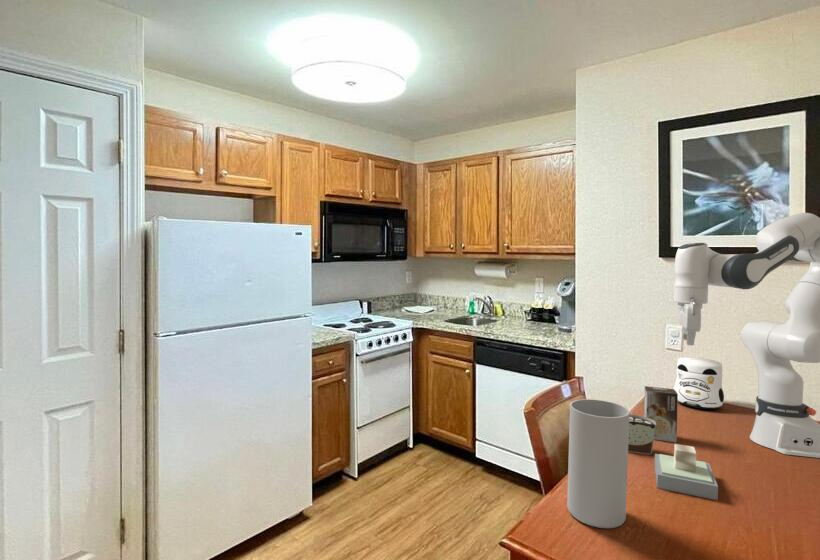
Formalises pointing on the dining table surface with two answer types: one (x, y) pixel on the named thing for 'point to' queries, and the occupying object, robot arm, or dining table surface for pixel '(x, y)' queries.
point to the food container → (641, 434)
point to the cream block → (684, 457)
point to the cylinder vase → (598, 462)
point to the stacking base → (685, 478)
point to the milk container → (699, 383)
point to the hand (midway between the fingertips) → (688, 342)
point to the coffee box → (662, 411)
